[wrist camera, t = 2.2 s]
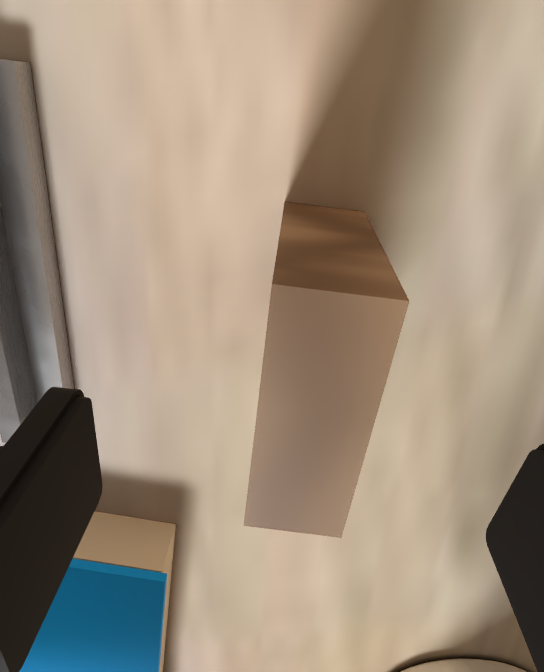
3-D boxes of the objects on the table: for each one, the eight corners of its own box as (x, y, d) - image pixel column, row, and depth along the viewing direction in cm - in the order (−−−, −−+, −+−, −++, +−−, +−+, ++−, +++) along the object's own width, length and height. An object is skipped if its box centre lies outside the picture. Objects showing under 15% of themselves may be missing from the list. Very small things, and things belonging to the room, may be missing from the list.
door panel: (364, 211, 17) (409, 300, 10) (328, 385, 21) (341, 537, 14) (284, 201, 17) (272, 283, 10) (263, 376, 21) (243, 525, 14)
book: (165, 579, 23) (153, 774, 35) (184, 510, 27) (167, 707, 38) (-172, 528, 22) (-68, 742, 34) (-104, 466, 26) (-31, 678, 38)
